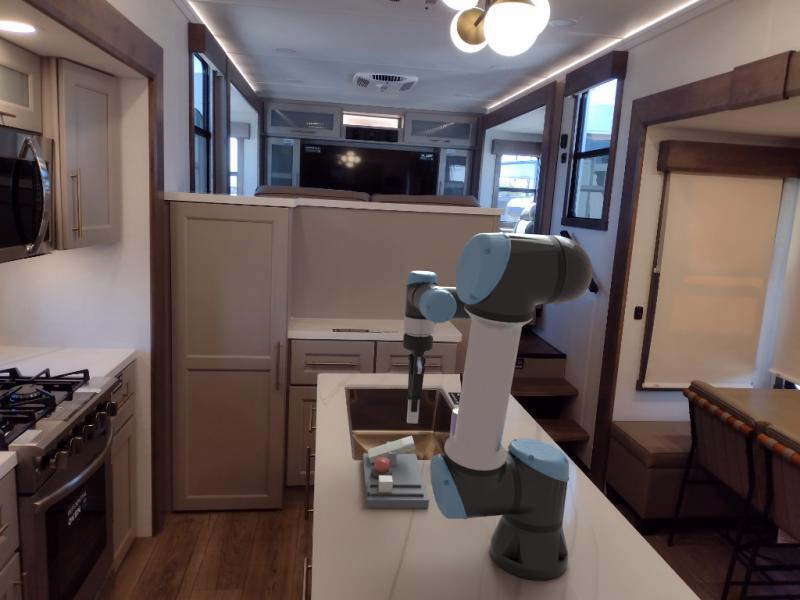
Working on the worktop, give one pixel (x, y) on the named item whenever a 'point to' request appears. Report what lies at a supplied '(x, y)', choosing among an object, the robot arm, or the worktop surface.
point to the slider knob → (385, 484)
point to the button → (381, 465)
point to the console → (396, 483)
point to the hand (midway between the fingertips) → (412, 422)
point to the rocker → (391, 448)
